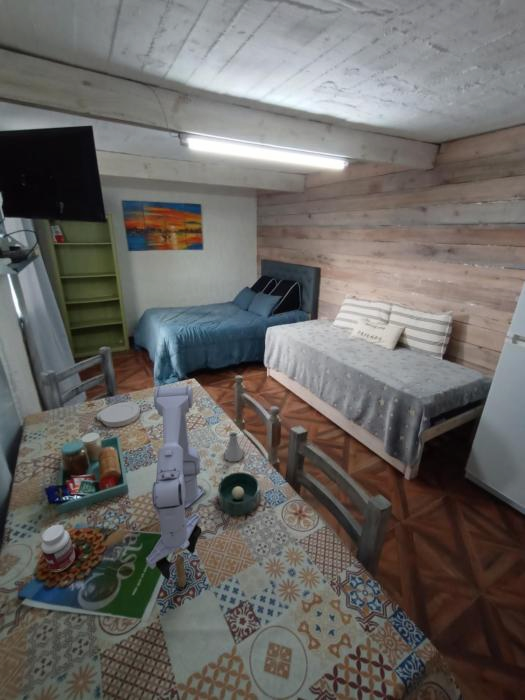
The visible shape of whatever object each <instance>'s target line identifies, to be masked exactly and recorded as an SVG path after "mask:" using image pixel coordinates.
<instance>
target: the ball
mask: <svg viewBox="0 0 525 700" xmlns="http://www.w3.org/2000/svg"><path fill="white" fill-rule="evenodd" d="M232 496H233V498H234V499H236V500H240V499H242V498H243V496H244V490H243V488H241V487H239V486H237V487H235V488H234V489H233V491H232Z"/></svg>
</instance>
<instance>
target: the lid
mask: <svg viewBox="0 0 525 700" xmlns="http://www.w3.org/2000/svg"><path fill="white" fill-rule="evenodd" d="M140 413H141V407H140V406H139V404H138V403H135V402H132V401H131V402H130V401H123V402H118V403H115V404H112V405H109V406H107V407H106V408H104V409H102V410H100V411H99V412H98V413H97V414H96V420H97V421H100V422H102V424H103V425H104V426H106V427H110V428H118V427H119V428H120V427H124V426H127V425H130V424H132V423H134V422H135V421H136V420H137V419H138V418H139V417H140Z"/></svg>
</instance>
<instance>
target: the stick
mask: <svg viewBox="0 0 525 700" xmlns="http://www.w3.org/2000/svg"><path fill="white" fill-rule="evenodd" d="M174 561H175V562H174V566H175V572H176V573H175V574H176V580H177V586H178V587H179V588H184V587H185V586H186V585H187V577H186V569H185V563H184V562H185V561H184V558H182V557H178V558H176V560H174Z"/></svg>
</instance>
